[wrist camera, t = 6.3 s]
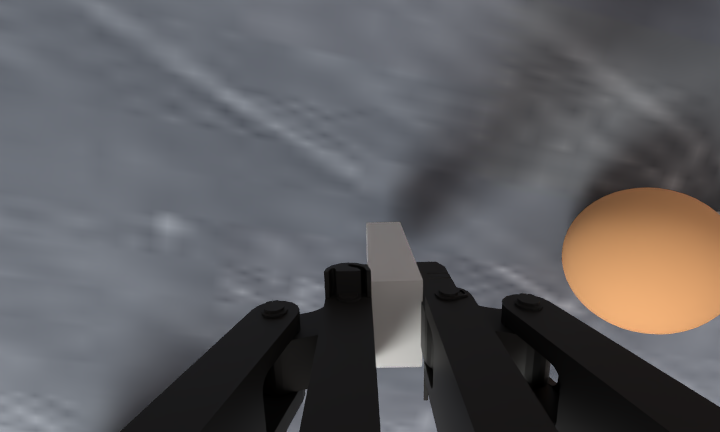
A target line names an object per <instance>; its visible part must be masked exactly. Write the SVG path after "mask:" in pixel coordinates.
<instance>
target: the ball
mask: <svg viewBox="0 0 720 432" xmlns="http://www.w3.org/2000/svg"><path fill="white" fill-rule="evenodd" d="M562 263H563V269H564V273H565V276H566V279H567V281H568V283H569V285H570V287H571V289H572V291H573V292H574V293H575V295H576V296H577V298H578V299H579V300H580V301H581V302H582V303H583V304H584V305H585V306H586V307H587V308H588V309H589V310H590V311H591V312H593V313H594V314H596V315H597V316H599V317H600V318H602V319H603V320H605V321H607V322H609V323H611V324H613V325H615V326H618V327H620V328H623V329H627V330H630V331H634V332H640V333H646V334H672V333H678V332H683V331H687V330H690V329H693V328H697V327H699V326H701V325H703V324H705V323H707V322H709V321H710V320H712V319H713V318H715V317H716V316H718V315H719V314H720V215H719V214H718V213H717V212H716V211H714V210H713V209H712V208H711V207H709V206H708V205H706V204H704V203H703V202H701V201H699V200H697V199H696V198H693V197H691V196H688V195H686V194H683V193H679V192H676V191H672V190H668V189H662V188H649V187H645V188H633V189H627V190H621V191H618V192H614V193H611V194H609V195H606V196H604V197H602V198H600V199H598V200H596V201H595V202H593V203H592V204H590V205H589V206H588V207H586V208H585V209H584V210H583V211H582V212H581V213H580V214H579V215H578V216H577V217H576V218H575V220H574V221H573V222H572V224H571V226H570V227H569V229H568V231H567V234H566V236H565V239H564V243H563V248H562Z"/></svg>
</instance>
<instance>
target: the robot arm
mask: <svg viewBox="0 0 720 432" xmlns="http://www.w3.org/2000/svg"><path fill="white" fill-rule="evenodd" d="M366 234H367V264H359V263H340V264H336V265H332V266H330V267H328V268H326V270H325V271H324V278H325V298H326V299H325V304H324V307H323V308H321V309H319V310H316V311H313V312H309V313H304V314H300V312H299V308H298V306H297V305H296V304H294V303H292V302H287V301H278V300H276V301H273V302H272V301H269V302H266V303H265V304H262V305H259V306H257V307H256V308H254V309H253V310H251V311H250V312H249V313H248V314H247V315H246V316H245V317H244V318H243V319H242V320H241V321H240V322H238V323H237V324H236V325H235V326H234V327H233V328H232V329H231V330H230V331H229V332H228V333H227V334H225V335H224V336H223V337H222V338H221V339H220V340H219V341H218V342H217V343H216V344H215V345H214V346H212V347H211V348H210V349H209V350H208V351H207V352H206V353H205V354H204V355H203V356H202V357H201V358H199V359H198V360H197V361H196V362H195V363H194V364H193V365H192V366H191V367H190V368H189V369H188V370H186V371H185V372H184V373H183V374H182V375H181V376H180V377H179V378H178V379H177V380H176V381H175V382H173V383H172V384H171V385H170V386H169V387H168V388H167V389H166V390H165V391H164V392H163V393H162V394H160V395H159V396H158V397H157V398H156V399H155V400H154V401H153V402H152V403H151V404H150V405H149V406H147V407H146V408H145V409H144V410H143V411H142V412H141V413H140V414H139V415H138V416H137V417H135V418H134V419H133V420H132V421H131V422H130V423H129V424H128V425H127V426H126V427H125V428H124V429H122V430H121V431H120V432H286V431H287V429H288V427H289V425H290V423H291V422H292V420H293V418H294V416H295V414H296V412H297V411H298V409H299V407H300V405H301V403H302V402H303V400H304V396H305V389H308V390H307V395H306V400H305V406H304V411H303V416H302V421H301V426H300V431H299V432H380V417H379V402H378V387H377V372H376V368H384V367H422V353H423V357H424V400H428V395H429V399H430V403H431V407H432V411H433V415H434V419H435V423H436V428H437V432H720V407H719V406H717V405H716V404H714V403H712V402H711V401H709V400H708V399H706V398H704V397H703V396H701V395H699V394H698V393H696V392H695V391H693V390H691V389H690V388H688V387H687V386H685V385H683V384H682V383H680V382H678V381H677V380H675V379H674V378H672V377H670V376H669V375H667V374H666V373H664V372H662V371H661V370H659V369H657V368H656V367H654V366H653V365H651V364H649V363H648V362H646V361H645V360H643V359H641V358H640V357H638V356H636V355H635V354H633V353H632V352H630V351H628V350H627V349H625V348H624V347H622V346H620V345H619V344H617V343H615V342H614V341H612V340H611V339H609V338H607V337H606V336H604V335H603V334H601V333H599V332H598V331H596V330H595V329H593V328H591V327H590V326H588V325H586V324H585V323H583V322H582V321H580V320H578V319H577V318H575V317H574V316H572V315H570V314H569V313H567V312H565V311H564V310H562V309H561V308H559V307H557V306H556V305H554V304H553V303H551V302H549V301H547V300H545V299H543V298H540V297H536V296H534V295H532V294H527V295H526V294H522V293H521V294H515V295H510V296H506V297H505V298H504V299H503V300H502V309H496V308H488V307H483V306H479V305H478V304H477V303H476V301H475V299H474V298H473V296H472V295H471V294H470V293H469V292H468V291H466V290H464V289H461V288H457V287H456V286H455V284H454V282H453V280H452V279H451V277H450V275H449V274H448V272H447V270H446V268H445V267H444V266H443V265H441V264H439V263H437V262H416V261H415V259H414V256H413V254H412V251H411V249H410V246H409V243H408V241H407V238H406V236H405V233H404V231H403V228H402V226H401V223H400V222H375V223H366ZM550 363H551V364H552V365H553V366H554V367H555V369H556V371H557V373H558V375H559V377H558V382H557V383H556V382H554V381H553V380H552V379H551V378H550V377H549V372H550Z"/></svg>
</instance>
